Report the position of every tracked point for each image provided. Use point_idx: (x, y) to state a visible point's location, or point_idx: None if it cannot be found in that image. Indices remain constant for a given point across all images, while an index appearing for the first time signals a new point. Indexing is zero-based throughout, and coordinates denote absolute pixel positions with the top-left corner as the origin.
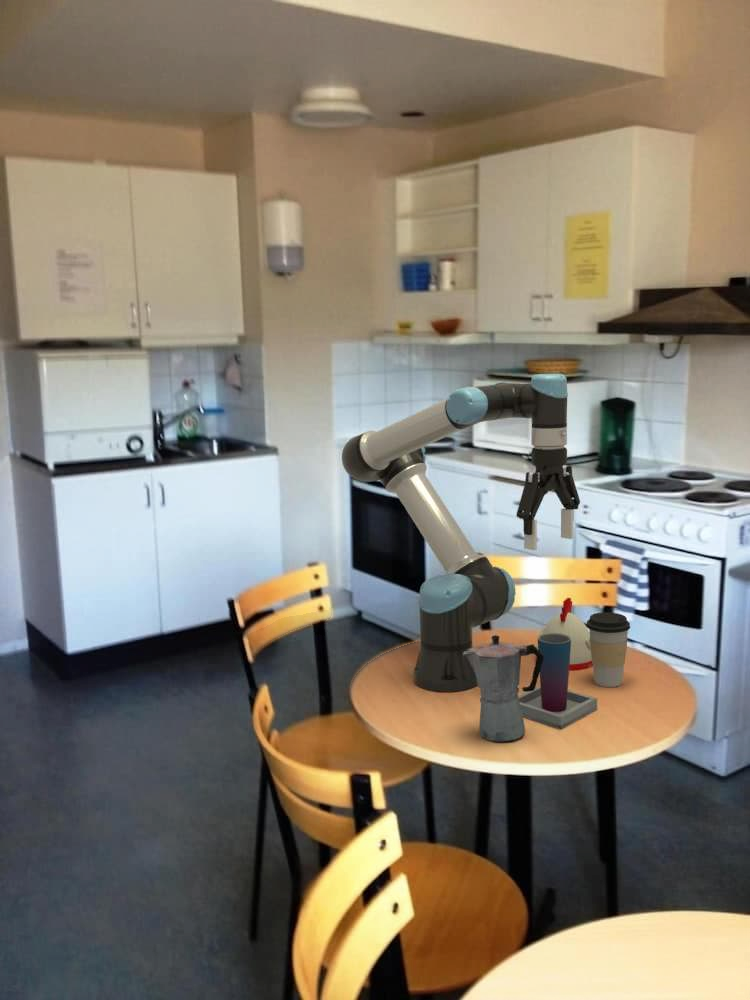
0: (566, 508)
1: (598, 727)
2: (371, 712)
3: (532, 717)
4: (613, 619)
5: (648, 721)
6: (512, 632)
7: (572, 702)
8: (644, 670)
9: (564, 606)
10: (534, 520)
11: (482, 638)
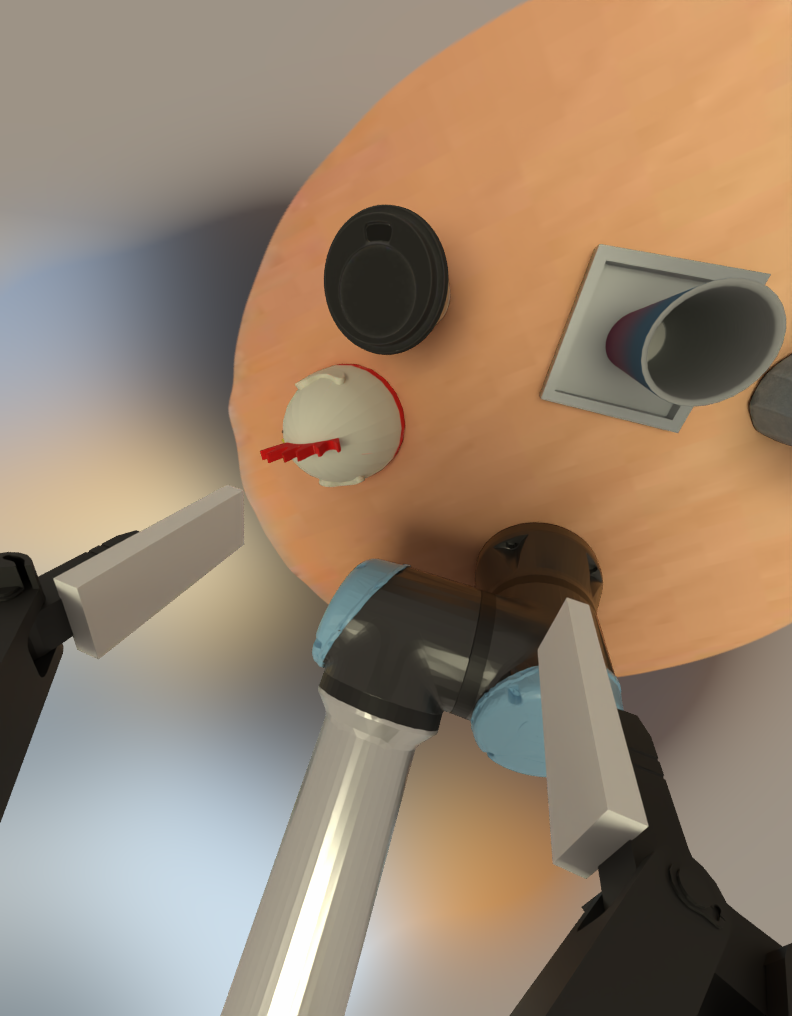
0: (65, 630)
1: (715, 193)
2: (736, 637)
3: None
4: (381, 260)
5: (635, 77)
6: (283, 543)
7: (591, 313)
8: (322, 251)
9: (307, 454)
10: (645, 824)
11: (331, 575)
